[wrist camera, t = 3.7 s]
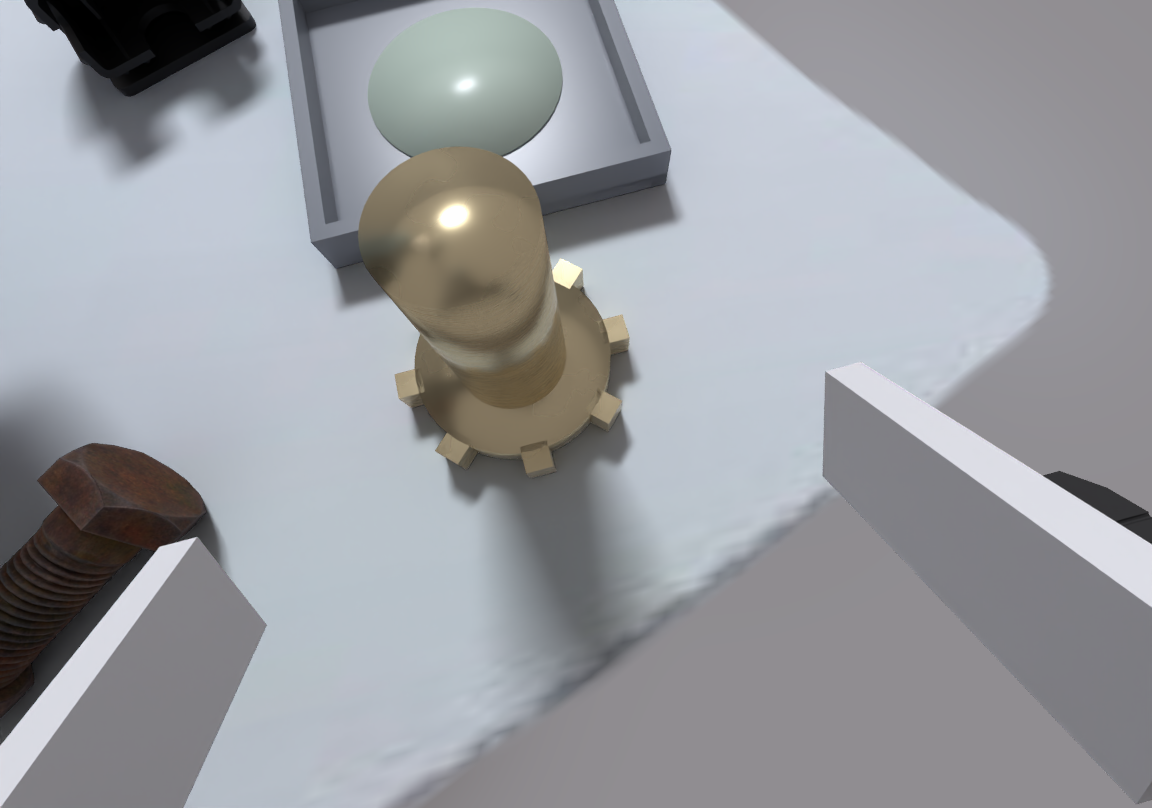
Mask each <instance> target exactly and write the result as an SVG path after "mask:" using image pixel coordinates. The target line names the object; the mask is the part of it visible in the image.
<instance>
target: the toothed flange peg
mask: <svg viewBox="0 0 1152 808" xmlns="http://www.w3.org/2000/svg"><path fill="white" fill-rule="evenodd" d="M358 241H359V249H360V253H361V257H362V259H363V261H364V264H365V266H366V268H367V270H368V271H369V273H370V274H371V276H372V277H373V278H374V279H375V281H376V282H377V283H378V284H379V285H380V286H381V288H382V289H383V290H384V291H385V292H386V294H387V295H388V296H389V297H390V298H391V299H392V301H393V302H394V303H395V304H396V305H397V307H398V308H399V309H400V310H401V311H402V312H403V314H404V315H405V316H406V317H407V318H408V319H409V321H410V322H411V323H412V324H413V325H414V327H415V328H416V329H417V330H418V331H419V332H420V337H419V340H418V343H417V348H416V354H415V369H413V370H410V371H406V372H402V373H398V374H395V379H396V385H397V391H398V397H399V399H400V400H401V401H403V402H404V403H405V404H407V405H408V406H409V407H411V408H413V407H417V406H421V405H424V406H425V407H426V409H427V411H428V412H429V414H430V415H431V417H432V418H433V419H434V420H435V422H436V423H437V424H438V425H439V426H440V427H441V428H442V429H443V430H444V431H446V432H447V433H446V435H445V436H444V438H443V440H442V441H441V443H440V444H439V446H438V447H437V449H436V450H435V451H436V452H438V453H439V454H441V455H443V456H444V457H446V458H448V459H449V460H451V461H453V462H454V463H456V464H457V465H459V466H461V467H463V468H464V469H466V470H467V469H468V467H469V466H470V464H471V463H472V461H473V460H474V458H475V456H476V455H477V453H481V454H484V455H486V456H489V457H495V458H500V459H512V460H516V459H523V462H524V467H525V471H526V474H527V475H528V476H529V477H530V478H535V477H538V476H542V475H546V474H550V473H553V472H556V468H555V464H554V460H553V456H552V452H553V451H555V450H557V449H559V448H561V447H563V446H564V445H566V444H567V443H569V442H570V441H572V440H573V439H575V438H576V437H577V436H578V435H579V434H580V433H581V432H583V431H584V429H585V428H586V427H587V426H588V425H589V424H590V423H593V424H595V425H597V426H598V427H600V428H602V429H604V430H606V431H607V432H609V430H610V428H611V426H612V425H613V423H614V421H615V419H616V418H617V416H618V414H619V412H620V411H621V405H622V401H621V400H619V399H617V398H616V397H614V396H612V395H610V394H608V393H606V392H607V388H608V383H609V378H610V358H611V355H613V354H617V353H621V352H625V351H628V346H629V334H628V331H627V328H626V325H625V322H624V319H623V315H618V316H615V317H611V318H607V319H603V320H602V318H601V316H600V314H599V312H598V310H597V309H596V308H595V306H594V305H593V304H592V302H591V301H590V300H589V299H588V298H587V297H586V296H585V295H584V294H583V293H582V292H581V291H580V290H581V289H582V287H583V286H584V285H583V271H582V269H581V268H579V267H577V266H575V265H573V264H571V263H569V262H567V261H565V260H563V259H560V260H559V262H558V263H557V265H556V267H555V268H554V270H553V271H552V267H551V262H550V256H549V251H548V245H547V239H546V234H545V228H544V223H543V217H542V212H541V207H540V202H539V198H538V196H537V193H536V190H535V189H534V187H533V185H532V183H531V181H530V180H529V179H528V178H527V176H526V175H525V174H524V173H523V172H522V171H521V170H520V169H519V168H518V167H517V166H516V165H515V164H513V163H512V162H510V161H509V160H507V159H506V158H504V157H502V156H500V155H498V154H495V153H493V152H490V151H487V150H483V149H479V148H473V147H457V146H455V147H444V148H439V149H434V150H430V151H427V152H424V153H421V154H419V155H416V156H414V157H412V158H410V159H408V160H406V161H405V162H403V163H401V164H400V165H398V166H397V167H395V168H394V169H393V170H391V171H390V172H389V173H388V174H387V175H386V176H385V177H384V178H383V179H382V180H381V181H380V182H379V183H378V184H377V185H376V187H375V188H374V190H373V191H372V193H371V194H370V196H369V197H368V199H367V201H366V203H365V205H364V208H363V211H362V214H361V217H360V222H359V230H358Z"/></svg>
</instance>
